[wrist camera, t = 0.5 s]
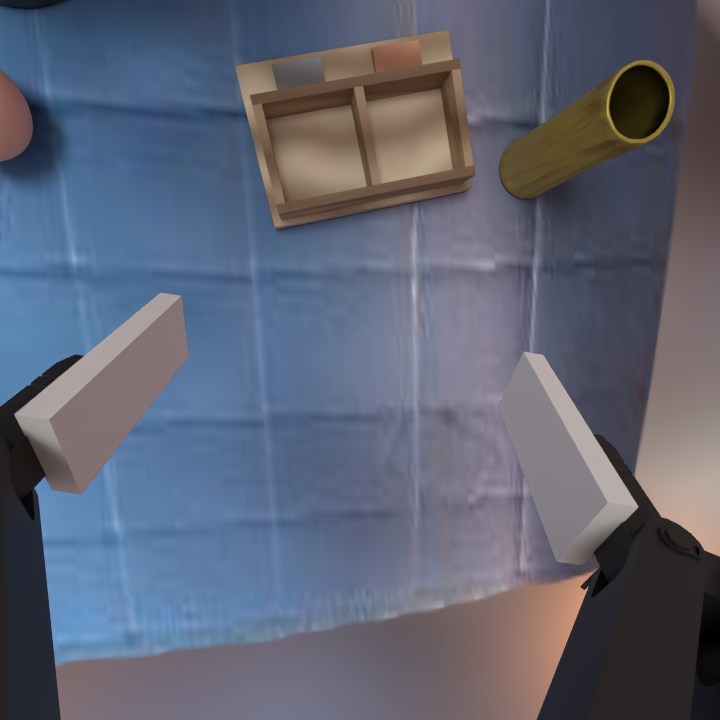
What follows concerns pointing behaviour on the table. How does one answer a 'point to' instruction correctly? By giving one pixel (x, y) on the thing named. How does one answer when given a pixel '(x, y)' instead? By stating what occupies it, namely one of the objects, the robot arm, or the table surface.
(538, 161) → the vase
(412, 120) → the tray
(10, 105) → the toy ball
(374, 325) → the table surface
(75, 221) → the table surface
